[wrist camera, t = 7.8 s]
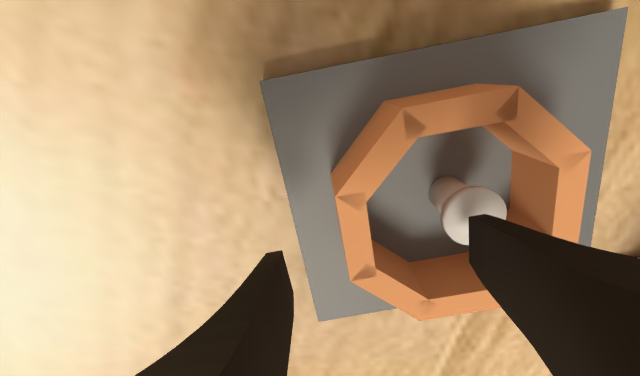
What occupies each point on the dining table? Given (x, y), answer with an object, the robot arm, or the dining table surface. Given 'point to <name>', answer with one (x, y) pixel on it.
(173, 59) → the dining table surface
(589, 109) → the hook board
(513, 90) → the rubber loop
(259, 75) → the dining table surface
